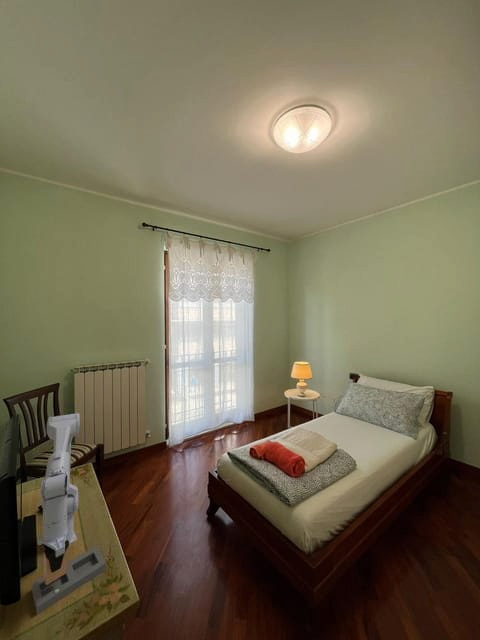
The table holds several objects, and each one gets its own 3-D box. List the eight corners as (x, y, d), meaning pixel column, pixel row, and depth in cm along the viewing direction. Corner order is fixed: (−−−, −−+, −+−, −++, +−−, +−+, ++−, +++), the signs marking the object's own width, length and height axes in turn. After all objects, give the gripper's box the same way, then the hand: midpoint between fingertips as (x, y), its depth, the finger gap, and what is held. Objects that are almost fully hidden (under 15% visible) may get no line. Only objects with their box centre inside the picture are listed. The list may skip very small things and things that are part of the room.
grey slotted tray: (31, 592, 73) (31, 582, 73) (96, 553, 85) (96, 545, 85) (36, 616, 67) (37, 606, 67) (105, 571, 79) (105, 562, 79)
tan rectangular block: (43, 576, 73) (44, 551, 73) (63, 565, 76) (63, 541, 77) (46, 585, 70) (46, 559, 71) (66, 573, 74) (66, 548, 74)
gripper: (33, 512, 76) (32, 558, 75) (42, 540, 66) (41, 593, 65) (61, 500, 81) (61, 543, 81) (73, 525, 71) (73, 574, 71)
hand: (54, 565), depth 73 cm, fingers closed on tan rectangular block, 4 cm apart
